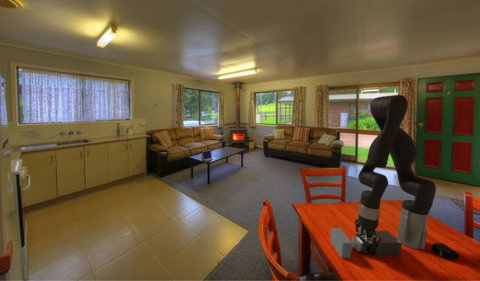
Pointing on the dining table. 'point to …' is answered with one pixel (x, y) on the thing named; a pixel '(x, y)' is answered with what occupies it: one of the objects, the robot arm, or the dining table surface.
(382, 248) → the sleeve
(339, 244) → the grey block
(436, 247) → the tape measure
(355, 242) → the light grey square bar
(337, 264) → the dining table surface
